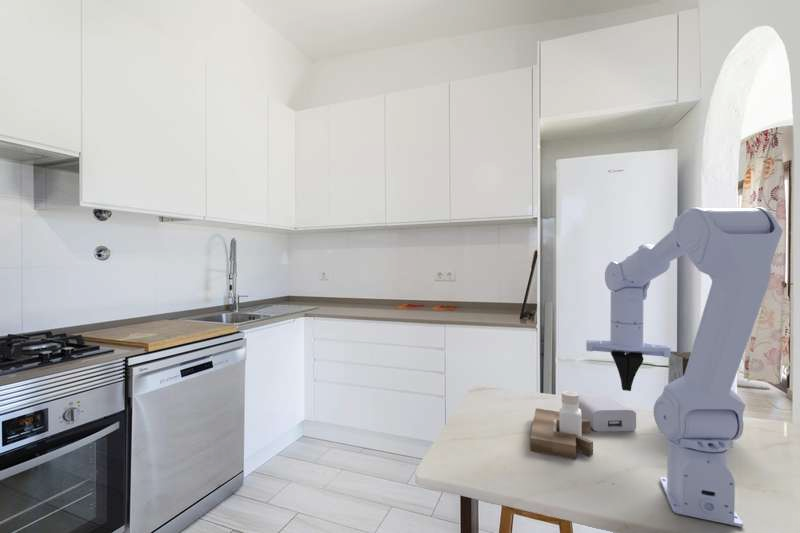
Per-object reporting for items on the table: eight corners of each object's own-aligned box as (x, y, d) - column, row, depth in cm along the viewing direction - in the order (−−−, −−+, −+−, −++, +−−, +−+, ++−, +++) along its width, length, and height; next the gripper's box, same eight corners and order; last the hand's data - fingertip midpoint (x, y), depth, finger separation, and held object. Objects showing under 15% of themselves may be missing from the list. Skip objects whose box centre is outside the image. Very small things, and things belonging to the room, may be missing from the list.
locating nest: (594, 462, 70) (594, 448, 70) (530, 450, 74) (530, 437, 74) (589, 427, 85) (589, 415, 85) (535, 419, 89) (535, 408, 89)
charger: (598, 405, 98) (636, 431, 83) (562, 406, 98) (593, 432, 83) (598, 386, 98) (636, 409, 83) (562, 387, 98) (593, 410, 83)
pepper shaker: (559, 434, 81) (559, 389, 81) (580, 437, 80) (580, 391, 80) (559, 442, 78) (559, 395, 78) (581, 445, 76) (581, 397, 76)
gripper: (664, 321, 79) (664, 387, 79) (585, 317, 85) (585, 379, 85) (673, 326, 72) (673, 399, 73) (587, 322, 78) (587, 389, 78)
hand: (626, 389), depth 78 cm, fingers closed
